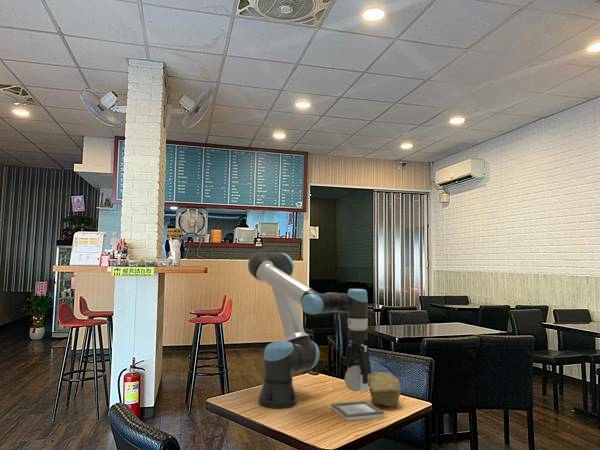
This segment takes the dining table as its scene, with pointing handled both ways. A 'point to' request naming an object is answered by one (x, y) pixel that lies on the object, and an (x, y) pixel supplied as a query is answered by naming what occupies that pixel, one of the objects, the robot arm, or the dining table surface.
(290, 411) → the dining table surface
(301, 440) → the dining table surface
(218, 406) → the dining table surface
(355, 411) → the plate
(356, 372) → the grey rounded piece
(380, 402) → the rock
